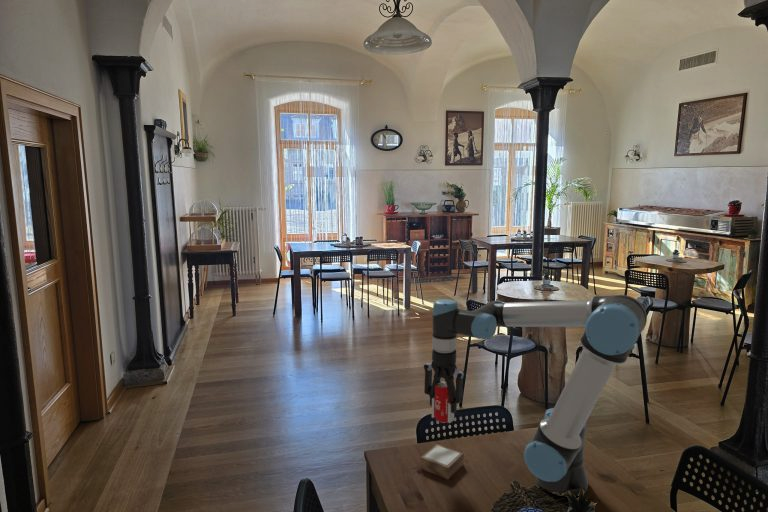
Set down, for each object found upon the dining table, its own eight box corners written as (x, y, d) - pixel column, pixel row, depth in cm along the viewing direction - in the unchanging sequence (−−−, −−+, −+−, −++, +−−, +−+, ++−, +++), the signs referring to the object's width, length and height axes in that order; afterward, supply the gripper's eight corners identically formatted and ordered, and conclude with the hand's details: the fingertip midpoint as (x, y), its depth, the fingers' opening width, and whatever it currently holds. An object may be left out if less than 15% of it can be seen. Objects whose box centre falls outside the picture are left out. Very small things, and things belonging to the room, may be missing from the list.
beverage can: (450, 424, 160) (451, 387, 158) (433, 422, 161) (434, 386, 159) (451, 416, 165) (452, 381, 163) (435, 414, 166) (436, 379, 164)
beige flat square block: (463, 464, 167) (463, 453, 166) (448, 479, 159) (448, 467, 158) (436, 454, 173) (436, 443, 172) (420, 468, 165) (420, 456, 164)
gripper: (476, 351, 157) (474, 422, 161) (425, 340, 168) (424, 406, 172) (464, 358, 151) (462, 431, 155) (413, 346, 162) (412, 415, 166)
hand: (442, 418), depth 163 cm, fingers closed on beverage can, 5 cm apart
